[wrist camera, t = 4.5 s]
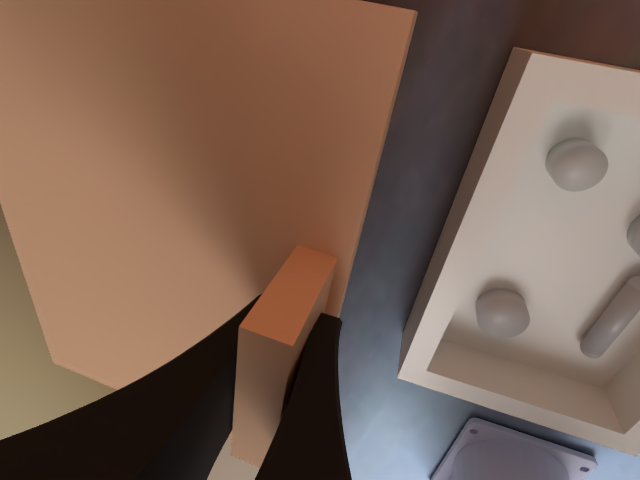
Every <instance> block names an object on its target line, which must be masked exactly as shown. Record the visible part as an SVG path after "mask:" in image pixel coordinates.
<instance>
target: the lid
mask: <svg viewBox="0 0 640 480" xmlns="http://www.w3.org/2000/svg"><path fill="white" fill-rule="evenodd" d="M417 15H418V12H417V11H415V10H409V9H404V8H399V7H393V6H388V5H382V4H377V3H372V2H366V1H361V0H0V203H1V206H2V209H3V213H4V216H5V219H6V221H7V225H8V228H9V231H10V234H11V237H12V240H13V243H14V246H15V249H16V252H17V255H18V258H19V261H20V264H21V267H22V270H23V273H24V276H25V279H26V282H27V285H28V288H29V291H30V294H31V297H32V300H33V303H34V306H35V309H36V312H37V315H38V318H39V321H40V324H41V327H42V331H43V334H44V337H45V340H46V343H47V346H48V348H49V352H50V355H51V358H52V361H53V363H55V364H58V365H60V366H62V367H65V368H67V369H69V370H72V371H74V372H77V373H79V374H81V375H84V376H86V377H88V378H91V379H93V380H96V381H98V382H100V383H103V384H105V385H108V386H110V387H112V388H115V389H117V390H119V389H121V388H123V387H125V386H127V385H128V384H130V383H132V382H134V381H136V380H138V379H140V378H142V377H143V376H145V375H147V374H149V373H150V372H152V371H154V370H156V369H157V368H159V367H161V366H162V365H164V364H166V363H167V362H169V361H171V360H172V359H174V358H175V357H177V356H179V355H180V354H182V353H183V352H185V351H186V350H188V349H189V348H191V347H192V346H193V345H195V344H196V343H198V342H199V341H201V340H202V339H204V338H205V337H207V336H208V335H209V334H211V333H212V332H213V331H215V330H216V329H217V328H219V327H220V326H221V325H223V324H224V323H225V322H227V321H228V320H229V319H231V318H232V317H233V316H234V315H236V314H237V313H238V312H239V311H241V310H242V309H243V308H244V307H245V306H247V305H248V304H249V303H250V302H251V301H252V300H254V299H255V298H256V297H257V296H258V295H260V294H262V295H261V296H260V298H259V299H258V301H257V302H256V303H255V305H254V306H253V308H252V309H251V310H250V312H249V313H248V315H247V316H246V317H245V319H244V320H243V322H242V323H241V324H240V326H239V332H238V348H237V364H236V380H235V396H234V412H233V428H232V431H231V433H230V435H229V437H232V443H231V456H234V457H236V458H238V459H241V460H243V461H245V462H248V463H250V464H252V465H255V466H257V467H259V468H260V467H261V465H262V462H263V460H264V458H265V456H266V453H267V451H268V449H269V447H270V444H271V442H272V440H273V438H274V435H275V433H276V431H277V428H278V426H279V424H280V421H281V419H282V417H283V414H284V412H285V410H286V407H287V405H288V402H289V399H290V396H291V394H292V391H293V388H294V384H295V381H296V377H297V374H298V371H299V367H300V364H301V360H302V357H303V354H304V350H305V347H306V343H307V340H308V337H309V333H310V332H311V330H312V328H313V326H314V324H315V322H316V320H317V319H318V317H319V315H320V314H321V312H322V313H325V314H328V315H331V316H334V317H338V318H339V317H340V313H341V309H342V305H343V301H344V297H345V293H346V290H347V286H348V282H349V278H350V274H351V270H352V266H353V262H354V259H355V255H356V251H357V247H358V243H359V239H360V235H361V231H362V228H363V224H364V220H365V216H366V212H367V208H368V204H369V200H370V197H371V193H372V189H373V185H374V181H375V177H376V173H377V169H378V166H379V162H380V158H381V154H382V150H383V146H384V142H385V138H386V135H387V131H388V127H389V123H390V119H391V115H392V111H393V108H394V104H395V100H396V96H397V92H398V88H399V84H400V80H401V77H402V73H403V69H404V65H405V61H406V57H407V53H408V49H409V46H410V42H411V38H412V34H413V30H414V26H415V22H416V18H417Z"/></svg>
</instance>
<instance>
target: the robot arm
mask: <svg viewBox="0 0 640 480" xmlns="http://www.w3.org/2000/svg"><path fill="white" fill-rule="evenodd" d="M261 295H262V294H260V295H258V296H257V297H256V298H255V299H254V300H252V301H251V302H250V303H249V304H248V305H247V306H245V307H244V308H243V309H242V310H241V311H239V312H238V313H237V314H236V315H234V316H233V317H232V318H231V319H229V320H228V321H227V322H225V323H224V324H223V325H221V326H220V327H219V328H217V329H216V330H215V331H213V332H212V333H211V334H209V335H208V336H207V337H205V338H204V339H202V340H201V341H199V342H198V343H196V344H195V345H193V346H192V347H191V348H189V349H188V350H186V351H185V352H183V353H182V354H180V355H179V356H177V357H175V358H174V359H172V360H171V361H169V362H167V363H166V364H164V365H162V366H161V367H159V368H157V369H156V370H154V371H152V372H150V373H149V374H147V375H145V376H143V377H142V378H140V379H138V380H136V381H134V382H132V383H130V384H128V385H127V386H125V387H123V388H121V389H119V390H117V391H115V392H113V393H111V394H109V395H107V396H105V397H103V398H101V399H99V400H97V401H95V402H92V403H90V404H88V405H86V406H83V407H81V408H79V409H77V410H74V411H72V412H70V413H67V414H65V415H63V416H61V417H58V418H56V419H54V420H51V421H49V422H47V423H44V424H42V425H39V426H37V427H34V428H32V429H29V430H26V431H24V432H21V433H19V434H16V435H13V436H11V437H8V438H5V439H2V440H0V480H207V478H208V475H209V473H210V471H211V469H212V467H213V465H214V462H215V461H216V459H217V457H218V455H219V453H220V451H221V449H222V447H223V445H224V443H225V442H226V440H227V438H228V436H229V435H230V433H231V431H232V428H233V412H234V396H235V380H236V364H237V348H238V332H239V326H240V324H241V323H242V322H243V320H244V319H245V317H246V316H247V315H248V313H249V312H250V310H251V309H252V308H253V306H254V305H255V303H256V302H257V301H258V299H259V298H260V296H261ZM341 326H342V321H341V319H340V318H338V317H334V316H331V315H328V314H325V313H322V312H321V314H320V315H319V317H318V319H317V320H316V322H315V324H314V326H313V328H312V330H311V332H310V333H309V337H308V340H307V343H306V347H305V350H304V354H303V357H302V360H301V364H300V367H299V371H298V374H297V377H296V381H295V384H294V388H293V391H292V394H291V396H290V399H289V402H288V405H287V407H286V410H285V412H284V414H283V417H282V419H281V421H280V424H279V426H278V428H277V431H276V433H275V435H274V438H273V440H272V442H271V444H270V447H269V449H268V451H267V453H266V456H265V458H264V460H263V462H262V465H261V467H260V469H259V472H258V474H257V476H256V478H255V480H352V478H351V473H350V468H349V463H348V458H347V452H346V445H345V439H344V433H343V425H342V417H341V407H340V397H339V379H338V346H339V336H340V330H341ZM597 466H598V464H597V461H596V459H595V458H594V457H592V456H590V455H587V454H584V453H581V452H578V451H575V450H572V449H569V448H566V447H563V446H560V445H557V444H554V443H551V442H548V441H545V440H542V439H539V438H536V437H533V436H530V435H527V434H524V433H521V432H518V431H515V430H512V429H509V428H506V427H503V426H500V425H497V424H494V423H491V422H488V421H485V420H482V419H479V418H471V419H469V420H468V422H467V423H466V425H465V426H464V428H463V429H462V431H461V433H460V434H459V436H458V437H457V439H456V440H455V442H454V444H453V445H452V447H451V448H450V450H449V451H448V453H447V454H446V456H445V458H444V459H443V461H442V462H441V464H440V465H439V467H438V469H437V470H436V472H435V473H434V475H433V476H432V478H431V480H584V479H585V478H586V477H587V476H588V475H589V474H590V473H591V472H592V471H593V470H595V469H596V468H597Z"/></svg>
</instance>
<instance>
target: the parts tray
mask: <svg viewBox="0 0 640 480" xmlns="http://www.w3.org/2000/svg"><path fill="white" fill-rule="evenodd" d="M397 378H399V379H402V380H405V381H408V382H411V383H414V384H417V385H420V386H423V387H426V388H429V389H432V390H435V391H438V392H441V393H444V394H447V395H450V396H453V397H457V398H460V399H463V400H466V401H469V402H472V403H475V404H478V405H481V406H484V407H487V408H490V409H493V410H496V411H499V412H502V413H505V414H508V415H511V416H514V417H517V418H521V419H524V420H527V421H530V422H533V423H536V424H539V425H542V426H545V427H548V428H551V429H554V430H557V431H560V432H563V433H566V434H569V435H572V436H575V437H578V438H581V439H585V440H588V441H591V442H594V443H597V444H600V445H603V446H606V447H609V448H612V449H615V450H618V451H621V452H624V453H627V454H630V455H633V456H637V455H638V454H639V453H640V70H636V69H631V68H625V67H620V66H615V65H609V64H604V63H598V62H593V61H588V60H582V59H577V58H571V57H566V56H561V55H555V54H550V53H544V52H539V51H534V50H528V49H523V48H517V47H513V49H512V51H511V54H510V56H509V59H508V62H507V64H506V67H505V69H504V72H503V74H502V77H501V80H500V82H499V85H498V87H497V90H496V93H495V95H494V98H493V100H492V103H491V106H490V108H489V111H488V113H487V116H486V118H485V121H484V124H483V126H482V129H481V131H480V134H479V137H478V139H477V142H476V144H475V147H474V150H473V152H472V155H471V157H470V160H469V162H468V165H467V168H466V170H465V173H464V175H463V178H462V181H461V183H460V186H459V188H458V191H457V193H456V196H455V199H454V201H453V204H452V206H451V209H450V212H449V214H448V217H447V219H446V222H445V225H444V227H443V230H442V232H441V235H440V237H439V240H438V243H437V245H436V248H435V250H434V253H433V256H432V258H431V261H430V263H429V266H428V268H427V271H426V274H425V276H424V279H423V281H422V284H421V287H420V289H419V292H418V294H417V297H416V300H415V302H414V305H413V307H412V310H411V312H410V315H409V318H408V320H407V323H406V325H405V328H404V331H403V333H402V342H401V350H400V359H399V368H398V376H397Z"/></svg>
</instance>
